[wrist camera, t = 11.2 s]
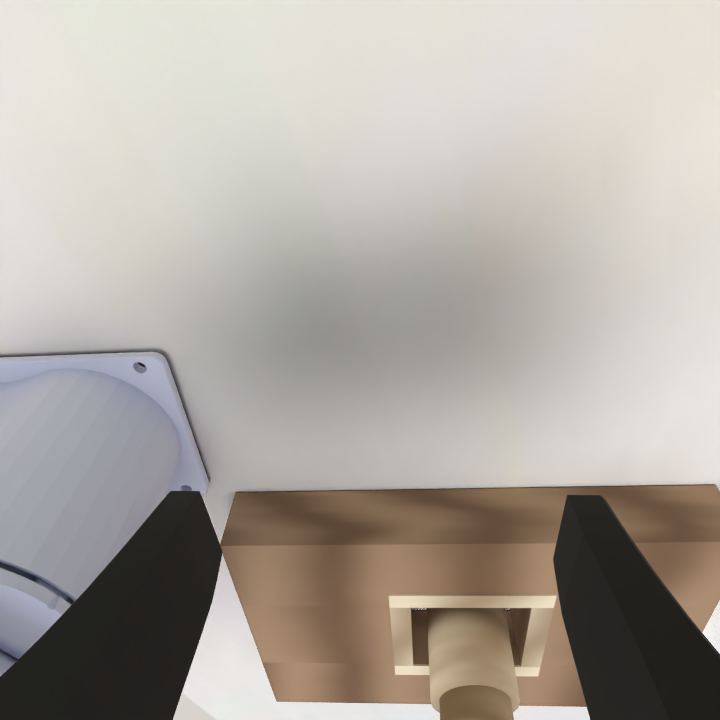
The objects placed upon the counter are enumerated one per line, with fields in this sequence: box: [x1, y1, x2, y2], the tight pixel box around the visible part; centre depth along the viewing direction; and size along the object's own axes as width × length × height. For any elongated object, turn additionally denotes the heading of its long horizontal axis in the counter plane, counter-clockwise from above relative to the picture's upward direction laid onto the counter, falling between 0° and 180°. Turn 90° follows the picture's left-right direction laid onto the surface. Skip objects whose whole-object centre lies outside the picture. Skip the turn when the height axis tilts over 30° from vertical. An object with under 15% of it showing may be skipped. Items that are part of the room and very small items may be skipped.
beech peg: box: [427, 608, 520, 720], centre depth 26 cm, size 4×4×9 cm
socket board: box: [220, 485, 720, 707], centre depth 29 cm, size 22×15×3 cm
